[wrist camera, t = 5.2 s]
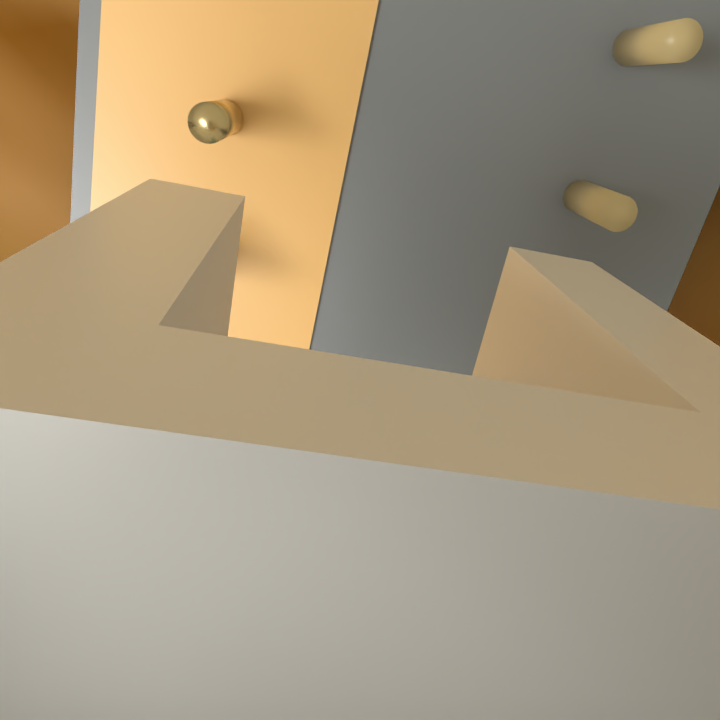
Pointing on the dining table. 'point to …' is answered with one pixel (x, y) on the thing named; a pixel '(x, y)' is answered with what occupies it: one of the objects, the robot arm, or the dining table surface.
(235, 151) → the header board
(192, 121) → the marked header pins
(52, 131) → the dining table surface
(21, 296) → the block
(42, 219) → the dining table surface
